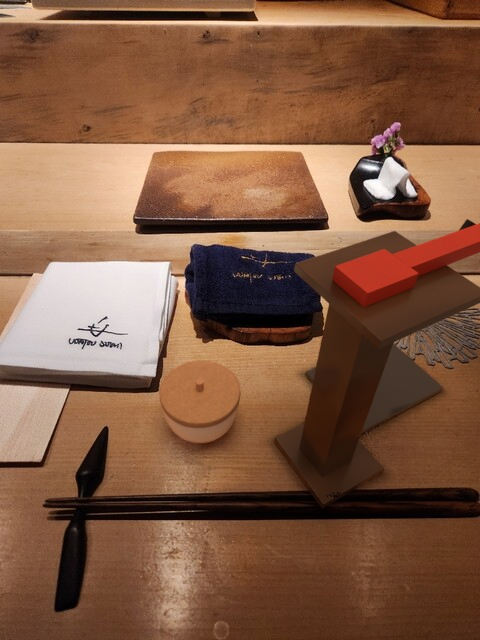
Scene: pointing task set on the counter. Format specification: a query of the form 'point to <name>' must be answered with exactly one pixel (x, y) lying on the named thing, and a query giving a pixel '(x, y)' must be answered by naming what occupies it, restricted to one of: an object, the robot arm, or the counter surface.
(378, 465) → the pedestal stand
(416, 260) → the red block
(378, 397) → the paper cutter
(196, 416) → the trinket box
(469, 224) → the robot arm
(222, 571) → the counter surface
